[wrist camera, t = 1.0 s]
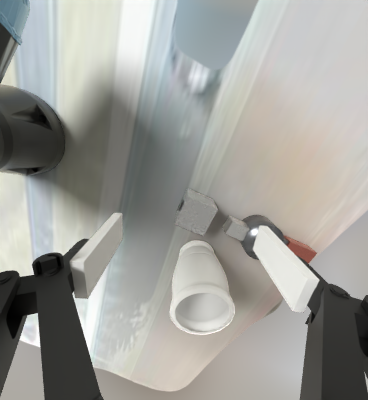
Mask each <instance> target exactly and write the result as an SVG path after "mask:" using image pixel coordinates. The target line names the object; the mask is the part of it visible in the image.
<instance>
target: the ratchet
mask: <svg viewBox="0 0 368 400" xmlns="http://www.w3.org/2000/svg"><path fill="white" fill-rule="evenodd" d="M259 226H268V227H269V228H270V229H271V230H272V231H273V233H274V234H275V235H276V236H277V237H278V238H279V239H280V240H281V241H282V242H283V243H284V244H285V245H286V246H287V247H288V248H289V249H290V250H291V251H292V252H293V253H294V254H295V255H298V256H299V257H301V258H302V259H304V260H305V261H306V262H307V263H309V262H310V261H311V260H312V258H313V257H314V256H315V255H316V254H317V253H316V252H315V251H314V250H313V249H312V248H310V247H309V246H307V245H305V244H303V243H301V242H298V241H296V240H294V239H291V238H289V237H287V236H283V234H282V232H281V231H280V230H279V229H278V228H277V227H276V226H275V225H274V224H273V223H272V222H271V221H270V220H268V219H267V218H266V217H264V216H261V215H252V216H249V217H247V218H245V219H244V220H242V221H241V220H238V219H236V218H234V217H231V216H228V218H227V220H226V221H225V223H224V225H223V227H222V228H223V230H224V232H225V234H226V235H229V236H231V237H234V238H236V239H238V240H239V241H240V242H241V244H242V246H243V248H244V250H245V252H246V253H247V254H248V255H249V256H250V257H252V258H254V259H258V260H259V258H258V257H257V255H256V254H255V252H254V250H253V247H254V243H255V240H256V236H257V233H258V229H259Z"/></svg>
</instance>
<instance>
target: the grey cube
mask: <svg viewBox="0 0 368 400" xmlns="http://www.w3.org/2000/svg"><path fill="white" fill-rule="evenodd" d="M217 211H218V209H217V206H216V204H215V202H214V200H213V199H211V198H209V197H207V196H205V195H202V194H200V193H198V192H195V191H193V190H191V189H188V188H187V190H186V192H185V195H184V197H183V199H182V201H181V203H180V205H179V207H178V210H177V212H176V218H175V225H177V226H179V227H182V228H184V229H187V230H189V231H191V232H194V233H196V234H199V235H201V236H204V234H205V233H206V231H207V229H208V227H209V225H210V224H211V222H212V220H213V218H214V216H215V215H216V213H217Z"/></svg>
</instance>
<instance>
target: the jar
mask: <svg viewBox="0 0 368 400" xmlns="http://www.w3.org/2000/svg"><path fill="white" fill-rule="evenodd" d="M169 314H170V318H171V320H172V322H173V323H174V325H175V326H176V327H178V328H179V329H181V330H182V331H185V332H187V333H191V334H197V335H205V334H211V333H215V332H217V331H220V330H222V329H223V328H225V327H226V326H227V325H228V324H229V323H230V322H231V321H232V319H233V317H234V314H235V306H234V302H233V299H232V297H231V296H230V295H229V286H228V281H227V277H226V274H225V272H224V270H223V268H222V266H221V264H220V262H219V260H218V258H217V257H216V255H215V254H214V250H213V248H212V246H211V245H210V244H208V243H207V242H204V241H201V240H194V241H190V242H188V243H186V244H185V245H184V246H183V247H182V248H181V250H180V252H179V259H178V261H177V264H176V268H175V271H174V274H173V279H172V301H171V304H170V310H169Z"/></svg>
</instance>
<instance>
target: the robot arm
mask: <svg viewBox="0 0 368 400" xmlns="http://www.w3.org/2000/svg"><path fill="white" fill-rule="evenodd" d="M29 11H30V2H29V0H0V83H1V81H2V79H3V77H4V75H5V72H6V70H7V68H8V66H9V64H10V62H11V59H12V57H13V55H14V53H15V51H16V49H17V46H18V44H19V45H21V43H22V40H21V35H22V32H23V29H24V26H25V23H26V20H27V18H28V15H29ZM64 148H65V138H64V133H63V129H62V126H61V124H60V122H59V120H58V118H57V116H56V115H55V113H54V112H53V110H52V109H51V108H50V107H49V106H48V105H47V104H46V103H45V102H44V101H43V100H42V99H40V98H39V97H37V96H36V95H34V94H32V93H30V92H28V91H25V90H22V89H19V88H16V87H13V86H8V85H0V172H4V173H11V174H19V175H34V174H39V173H44V172H47V171H49V170H51V169H53V168H54V167H55V166H56V165H57V164H58V163H59V162H60V160H61V158H62V156H63V153H64ZM122 239H123V223H122V213H113V214H112V215H111V216H110V218H109V219H108V220H107V221H106V222H105V223H104V224H103V225H102V226H101V227H100V229H99V230H98V231H97V232H96V233H95V234H94V235H93V236H92V237H91V238H90V239H82V240H81V241H79V242H77V243H76V244H75V245H74V246H73V247H72V248H71V249H70V250H69V252H67V253H66V254H65V255H64V256H62V255H61V254H60V253H48V254H45V255H42V256H40V257H38V258H37V259H36V260H35V261H34V262H33V264H32V267H33V271H34V275H31V276H24V277H20V276H19V273H18V272H17V271H5V272H2V273H0V396H1V393H2V390H3V387H4V383H5V381H6V378H7V375H8V371H9V369H10V366H11V363H12V360H13V357H14V354H15V350H16V348H17V345H18V342H19V339H20V336H21V333H22V330H23V327H24V324H25V321H26V318H27V315H30V314H35V313H38V320H39V333H40V345H41V358H42V371H43V383H44V396H45V400H104V399H103V397H102V396H101V393H100V390H99V387H98V383H97V379H96V376H95V372H94V369H93V365H92V362H91V358H90V355H89V351H88V348H87V344H86V341H85V337H84V334H83V330H82V327H81V323H80V320H79V316H78V313H77V309H76V306H75V302H74V299H73V295H72V293H73V292H74V294H75V298H85V299H88V298H89V296H90V294H91V292H92V291H93V289H94V287H95V286H96V284H97V282H98V280H99V279H100V277H101V275H102V274H103V272H104V270H105V268H106V267H107V265H108V263H109V262H110V260H111V258H112V256H113V255H114V253H115V251H116V250H117V248H118V246H119V244H120V243H121V241H122ZM253 250H254V252H255V254H256V255H257V257H258V258H259V260H260V261H261V263H262V265H263V266H264V268H265V269H266V271H267V272H268V274H269V276H270V277H271V279H272V280H273V282H274V283H275V285H276V287H277V288H278V290H279V291H280V293H281V294H282V296H283V297H284V299H285V300H286V302H287V304H288V305H289V307H290V308H291V310H292V311H293V312H304V311H305V309H306V307H307V306H308V307H309V308H310V310H311V313H310V315H309V317H308V319H307V321H306V323H305V324H308V332H307V341H306V349H305V359H304V367H303V376H302V385H301V394H300V400H368V392H367V386H366V380H365V374H364V371H365V373H366V376H367V378H368V295H366V296H365V298H364V299H363V300H359V299H356V298H352V297H351V296H350V295H349V294H348V293H347V292H346V291H345V290H343V289H342V288H340V287H338V286H336V285H333V284H328V283H327V282H326V281H325V280H324V279H323V278H322V277H321V276H320V275H319V274H318V273H317V272H316V271H315V270H314V269H313V268H312V267H311V266H309V264H308V263H307V262H306V261H305V260H304V259H302V258H301V257H299V256H298V255H295V254H294V253H293V252H292V251H291V250H290V249H289V248H288V247H287V246H286V245H285V244H284V243H283V242H282V241H281V240H280V239H279V238H278V237H277V236H276V235H275V234H274V233H273V231H272V230H271V229H270V228H269V227H268V226H259V229H258V233H257V236H256V240H255V243H254V247H253Z"/></svg>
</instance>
